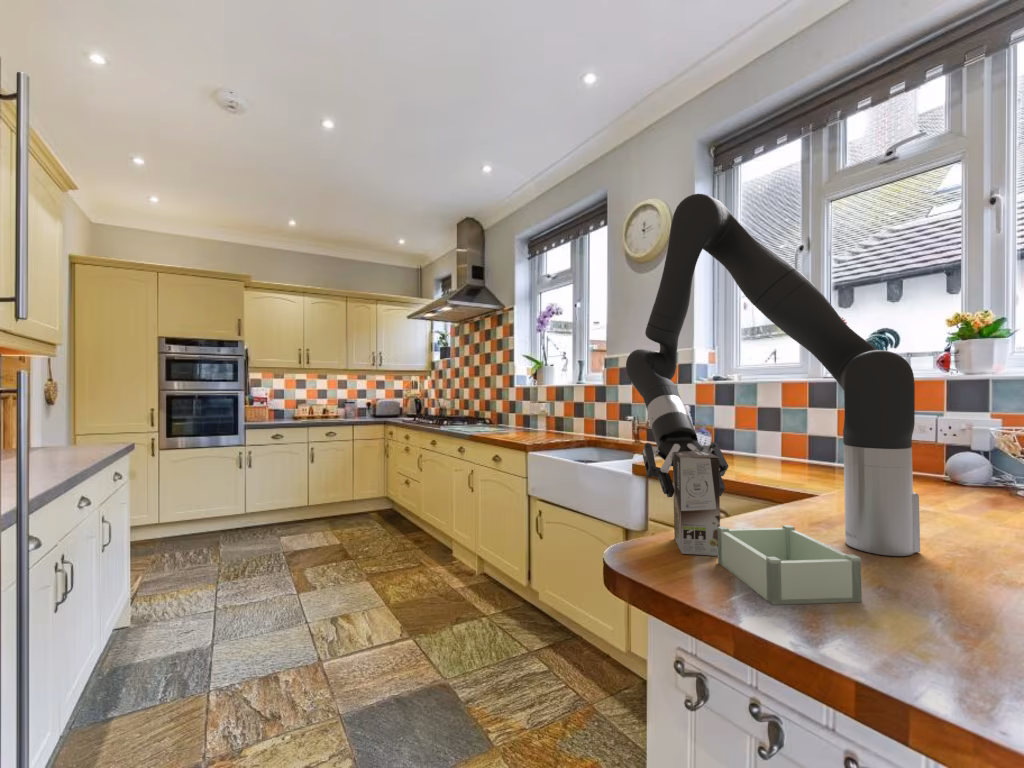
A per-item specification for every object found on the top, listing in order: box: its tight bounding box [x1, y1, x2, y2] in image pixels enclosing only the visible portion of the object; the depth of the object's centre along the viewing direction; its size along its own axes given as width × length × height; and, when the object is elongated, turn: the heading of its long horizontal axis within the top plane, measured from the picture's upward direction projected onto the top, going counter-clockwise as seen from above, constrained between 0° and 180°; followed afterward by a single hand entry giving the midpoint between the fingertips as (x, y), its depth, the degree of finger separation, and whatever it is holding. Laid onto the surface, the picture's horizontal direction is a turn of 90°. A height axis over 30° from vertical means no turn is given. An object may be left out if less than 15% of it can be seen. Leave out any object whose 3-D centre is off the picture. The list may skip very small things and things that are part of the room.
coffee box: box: [672, 451, 721, 557], centre depth 83 cm, size 9×6×16 cm
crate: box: [717, 524, 863, 606], centre depth 68 cm, size 12×15×6 cm
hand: (695, 494), depth 82 cm, fingers open, 8 cm apart
